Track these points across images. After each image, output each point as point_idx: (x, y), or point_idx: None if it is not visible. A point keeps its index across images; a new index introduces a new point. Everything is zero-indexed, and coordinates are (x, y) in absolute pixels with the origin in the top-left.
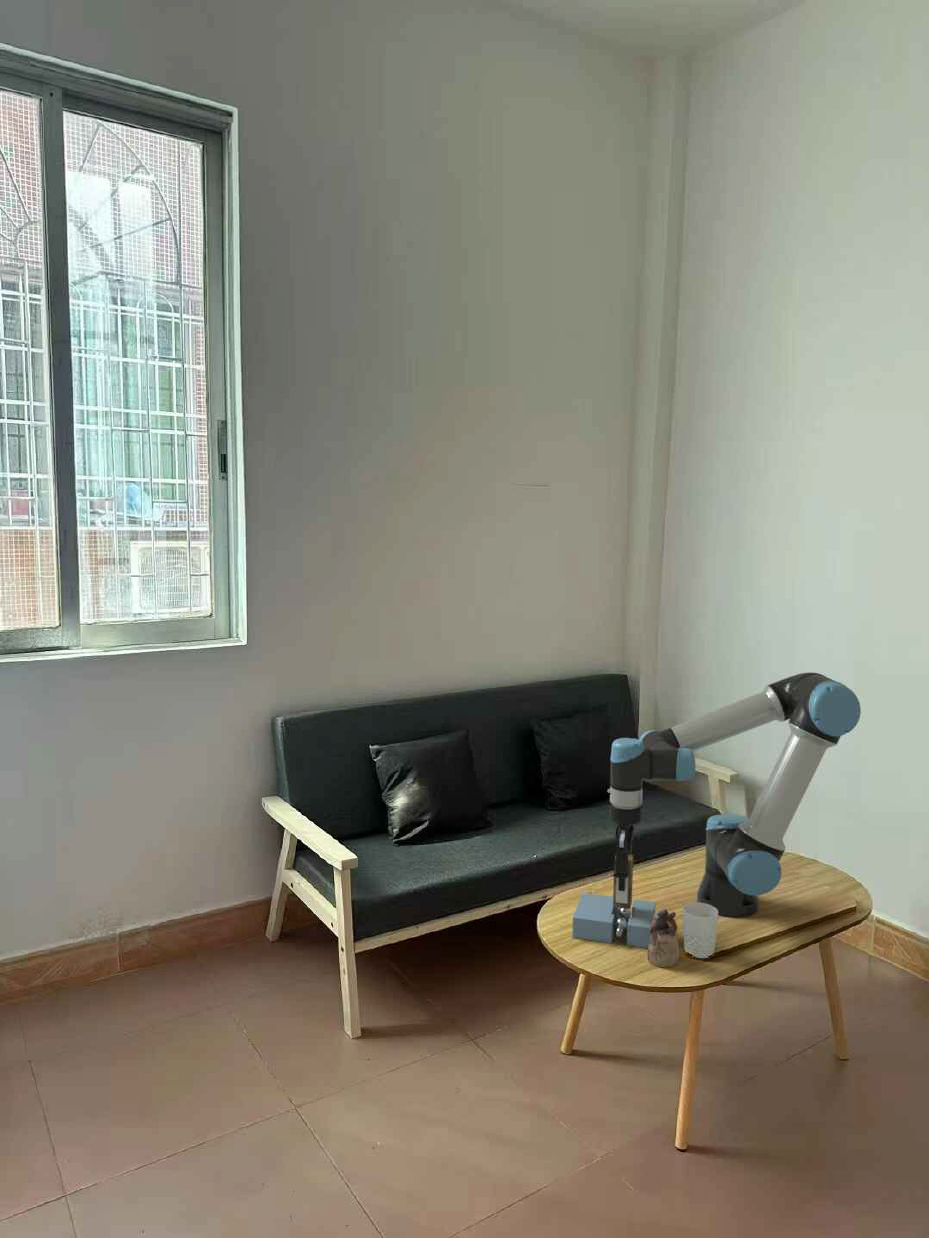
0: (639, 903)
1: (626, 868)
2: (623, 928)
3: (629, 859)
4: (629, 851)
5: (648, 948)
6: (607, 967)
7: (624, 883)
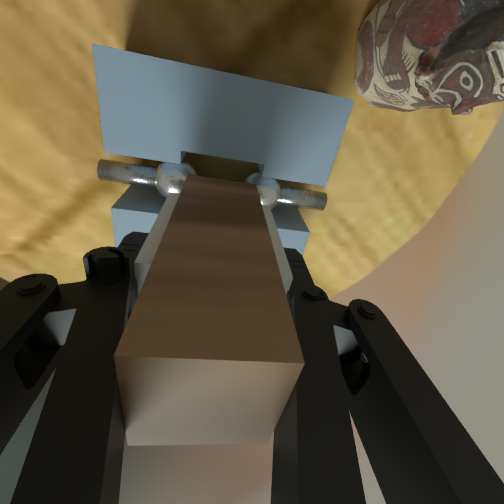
0: (138, 130)
1: (409, 364)
2: (288, 187)
3: (273, 375)
4: (114, 413)
5: (413, 109)
6: (408, 214)
7: (310, 275)
